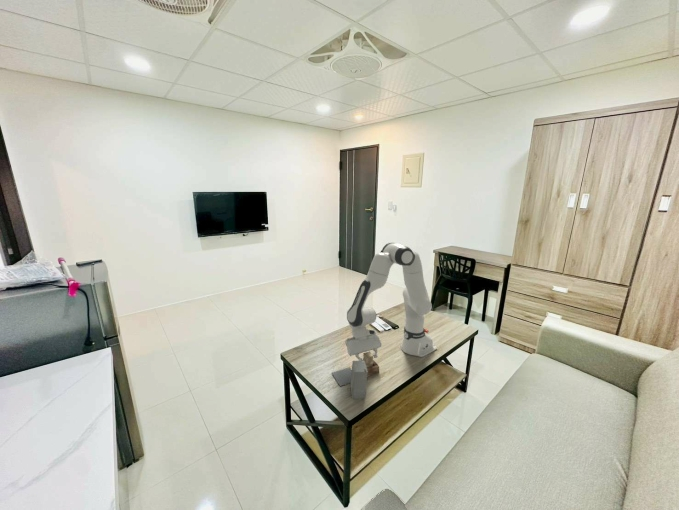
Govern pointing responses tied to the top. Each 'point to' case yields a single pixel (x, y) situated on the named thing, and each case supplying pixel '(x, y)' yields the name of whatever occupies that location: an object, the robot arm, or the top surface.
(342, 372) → the slate mat
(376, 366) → the walnut pocket
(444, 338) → the top surface
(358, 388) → the skincare box
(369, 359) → the birch peg block
